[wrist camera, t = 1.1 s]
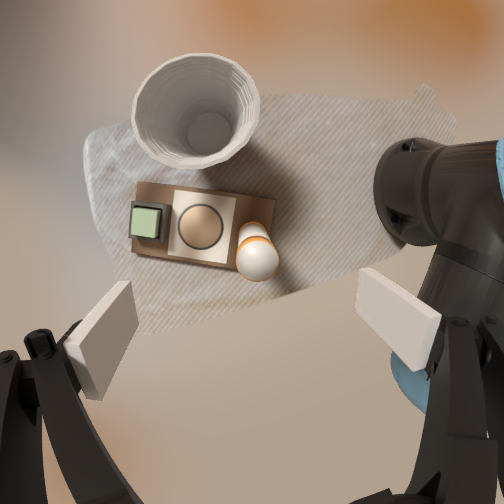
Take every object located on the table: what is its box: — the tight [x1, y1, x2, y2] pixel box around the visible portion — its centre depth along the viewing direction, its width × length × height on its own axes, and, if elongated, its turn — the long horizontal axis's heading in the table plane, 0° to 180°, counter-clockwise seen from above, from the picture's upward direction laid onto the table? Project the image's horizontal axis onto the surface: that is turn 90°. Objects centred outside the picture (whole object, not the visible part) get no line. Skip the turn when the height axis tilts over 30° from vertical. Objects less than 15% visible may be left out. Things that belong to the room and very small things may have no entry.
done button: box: [131, 207, 162, 238], centre depth 30 cm, size 3×3×2 cm
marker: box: [236, 221, 279, 282], centre depth 27 cm, size 3×3×12 cm
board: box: [128, 182, 276, 269], centre depth 32 cm, size 17×9×3 cm, turn 81°
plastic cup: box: [131, 53, 260, 169], centre depth 25 cm, size 11×11×12 cm
